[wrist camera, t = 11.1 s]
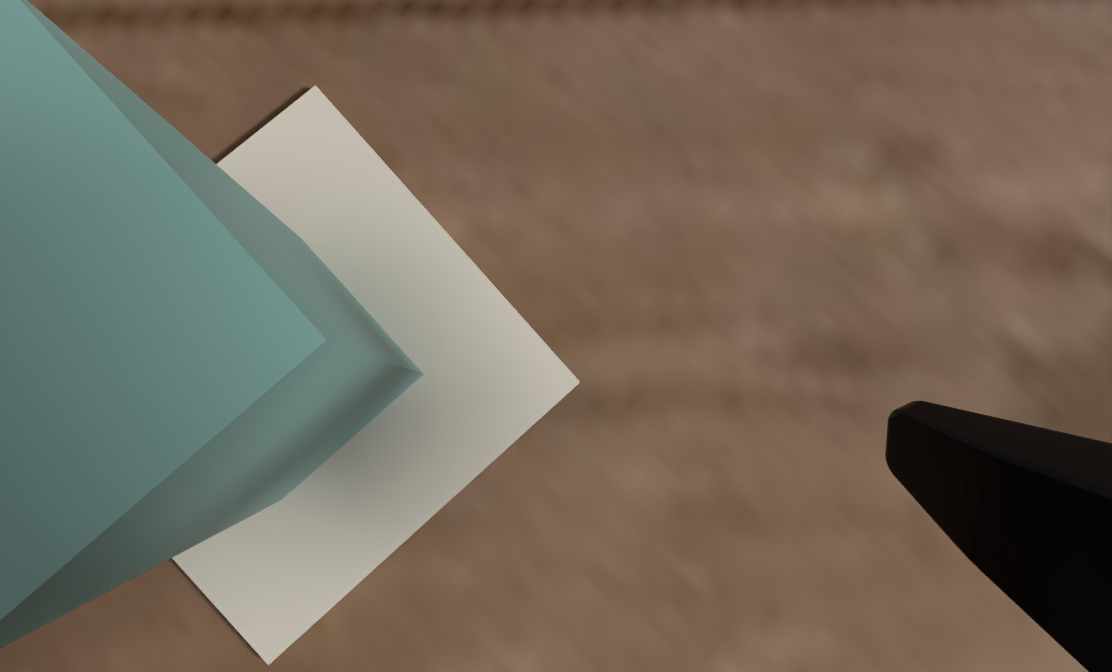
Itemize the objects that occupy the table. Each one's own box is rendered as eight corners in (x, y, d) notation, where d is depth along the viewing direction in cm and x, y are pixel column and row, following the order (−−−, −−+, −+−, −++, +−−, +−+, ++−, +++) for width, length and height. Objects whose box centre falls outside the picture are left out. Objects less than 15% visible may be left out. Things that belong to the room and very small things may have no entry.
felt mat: (578, 382, 20) (580, 382, 19) (271, 660, 18) (268, 665, 18) (317, 89, 20) (315, 85, 19) (-8, 350, 18) (-16, 349, 18)
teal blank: (423, 374, 19) (326, 340, 7) (281, 499, 18) (-86, 692, 6) (301, 238, 19) (-3, -26, 7) (156, 360, 18) (-445, 298, 6)
